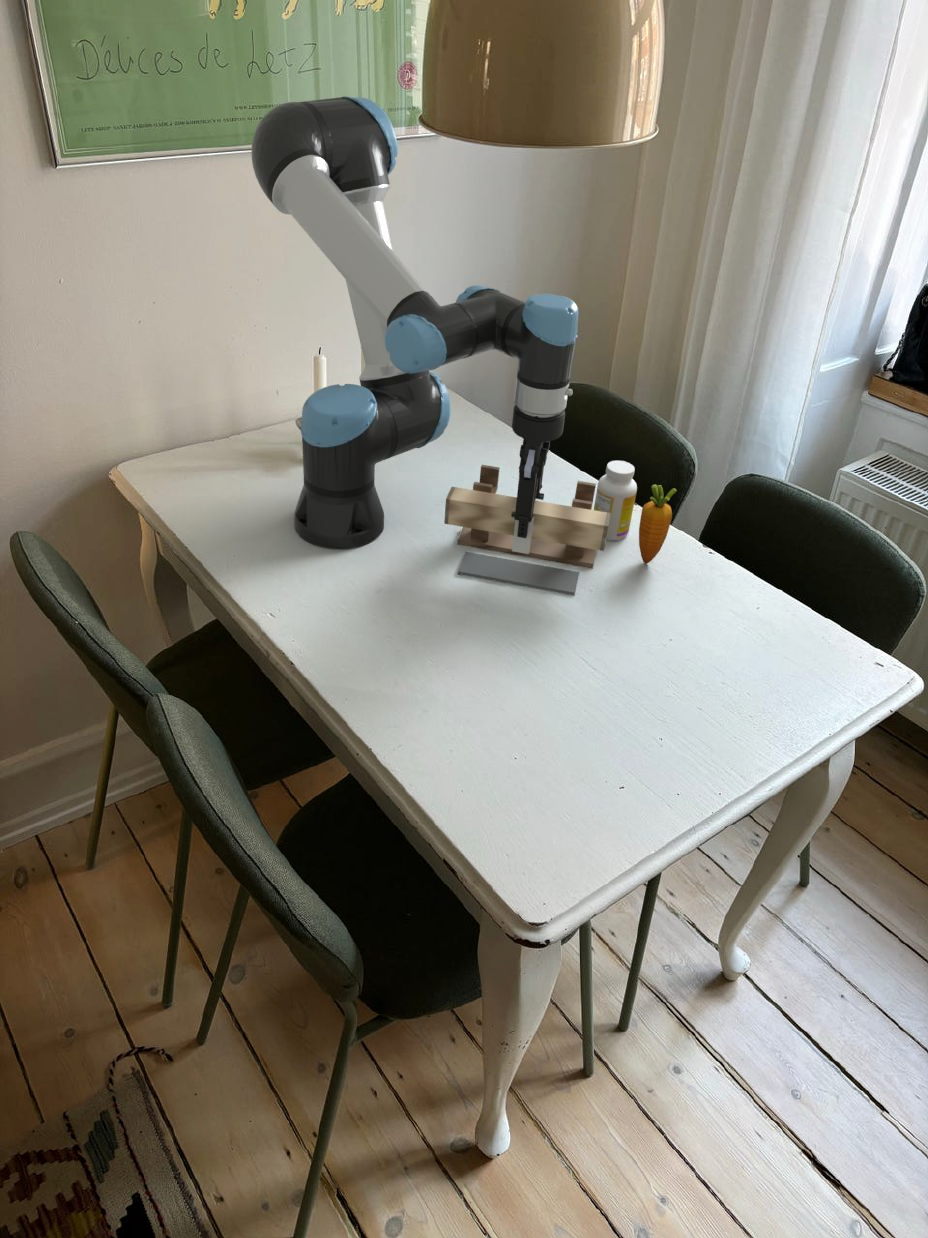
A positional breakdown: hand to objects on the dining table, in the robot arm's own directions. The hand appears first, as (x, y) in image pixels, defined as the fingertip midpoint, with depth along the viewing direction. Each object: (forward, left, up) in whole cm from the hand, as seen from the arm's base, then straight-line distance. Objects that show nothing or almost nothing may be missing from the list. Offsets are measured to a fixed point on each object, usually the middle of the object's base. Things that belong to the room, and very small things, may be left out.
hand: (523, 543), depth 154 cm
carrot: (+20, +10, -6) cm, 23 cm away
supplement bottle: (+13, +18, -6) cm, 23 cm away
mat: (0, 0, -6) cm, 6 cm away
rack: (0, +8, -6) cm, 10 cm away
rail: (0, 0, +2) cm, 2 cm away
